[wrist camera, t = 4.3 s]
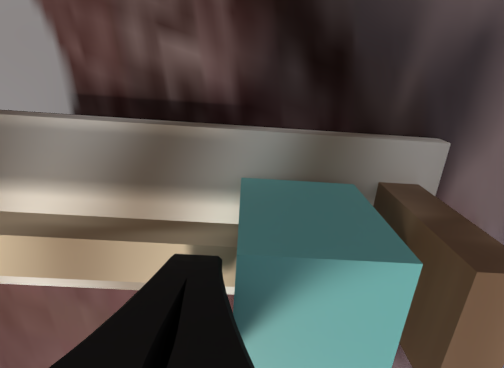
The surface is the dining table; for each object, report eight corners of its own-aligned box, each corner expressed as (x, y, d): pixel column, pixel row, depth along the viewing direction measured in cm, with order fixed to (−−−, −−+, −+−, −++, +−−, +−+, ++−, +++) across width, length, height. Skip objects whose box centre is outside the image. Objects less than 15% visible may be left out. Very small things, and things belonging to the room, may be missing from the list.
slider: (353, 184, 11) (423, 264, 7) (336, 273, 13) (385, 388, 8) (241, 177, 11) (236, 254, 7) (235, 268, 13) (229, 383, 8)
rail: (438, 138, 12) (615, 209, 6) (395, 289, 14) (494, 441, 9) (-143, 100, 11) (-557, 140, 5) (-83, 267, 14) (-324, 415, 8)
